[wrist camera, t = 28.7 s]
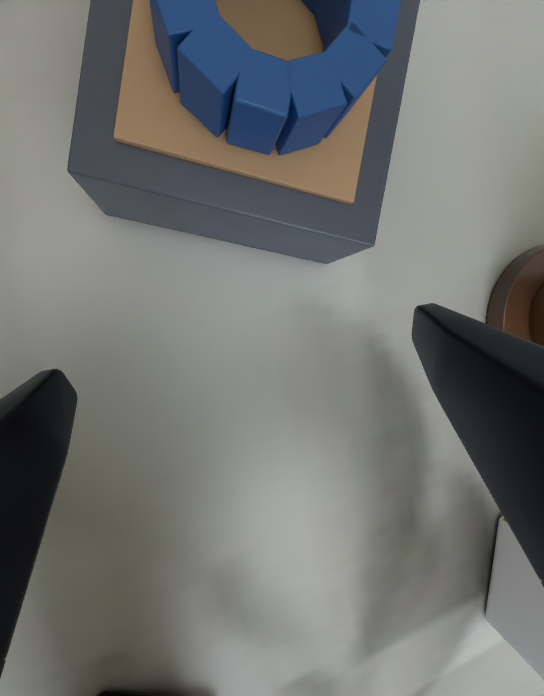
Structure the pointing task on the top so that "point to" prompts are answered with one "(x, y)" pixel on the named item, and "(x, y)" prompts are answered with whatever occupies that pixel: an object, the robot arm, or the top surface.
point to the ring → (272, 71)
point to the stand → (520, 298)
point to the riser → (221, 157)
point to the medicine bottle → (516, 599)
